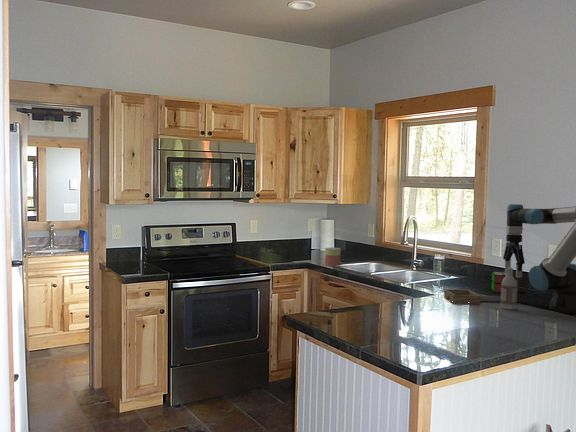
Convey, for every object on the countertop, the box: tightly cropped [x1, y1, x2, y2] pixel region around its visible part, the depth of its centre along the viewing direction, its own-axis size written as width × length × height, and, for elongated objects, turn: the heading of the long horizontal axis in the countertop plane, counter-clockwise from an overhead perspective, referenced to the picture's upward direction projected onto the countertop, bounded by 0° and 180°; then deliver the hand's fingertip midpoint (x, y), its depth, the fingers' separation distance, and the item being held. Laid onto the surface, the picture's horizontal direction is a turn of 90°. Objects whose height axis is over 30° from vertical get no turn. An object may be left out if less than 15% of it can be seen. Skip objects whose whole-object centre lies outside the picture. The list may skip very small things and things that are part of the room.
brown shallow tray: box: [443, 288, 481, 306], centre depth 285 cm, size 15×13×4 cm
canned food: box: [324, 247, 342, 267], centre depth 401 cm, size 11×11×12 cm
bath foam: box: [500, 267, 517, 311], centre depth 270 cm, size 7×7×20 cm
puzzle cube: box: [491, 271, 515, 293], centre depth 315 cm, size 10×10×10 cm
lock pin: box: [480, 279, 519, 303], centre depth 285 cm, size 4×22×11 cm, turn 91°
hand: (513, 275), depth 285 cm, fingers open, 13 cm apart
